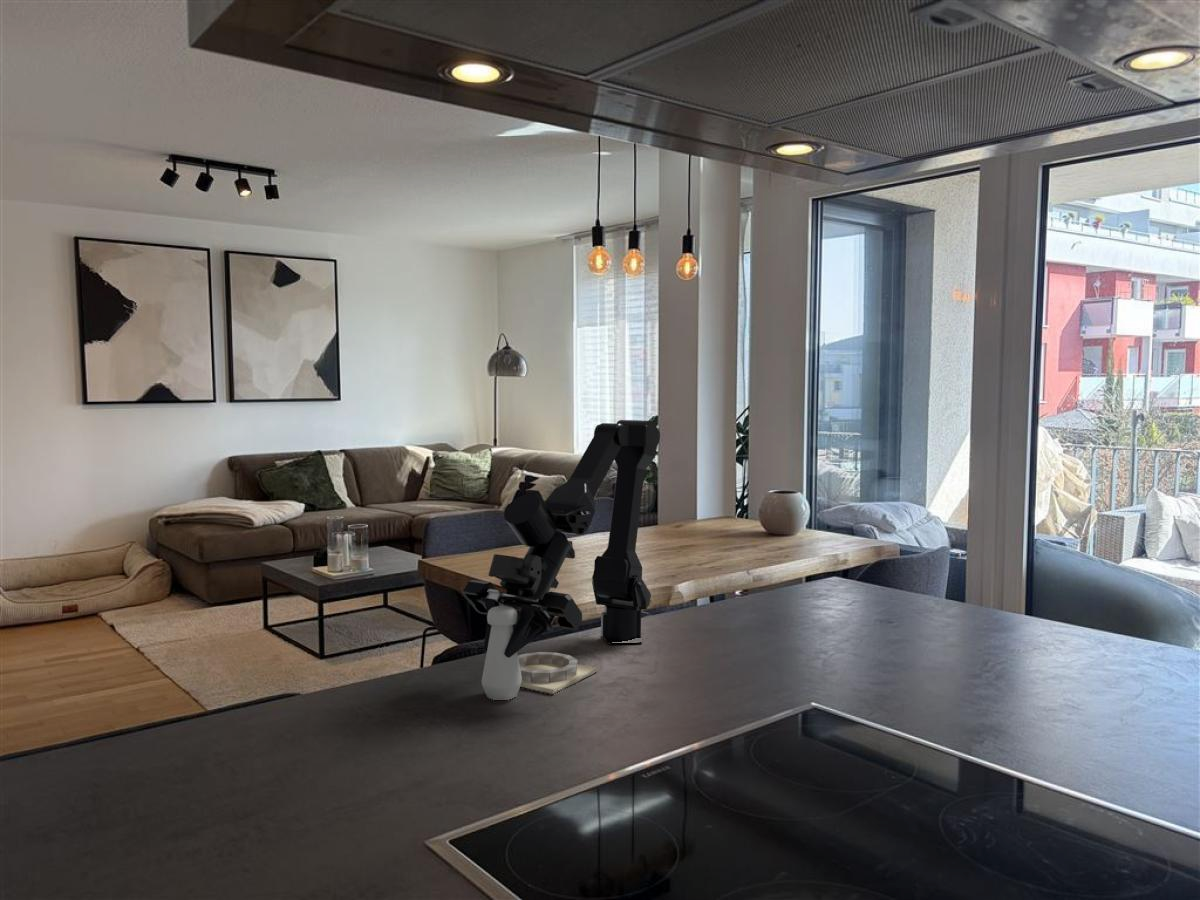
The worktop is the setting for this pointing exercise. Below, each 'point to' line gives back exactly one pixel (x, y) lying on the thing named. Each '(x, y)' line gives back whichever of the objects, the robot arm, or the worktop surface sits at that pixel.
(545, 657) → the ring stand
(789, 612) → the worktop surface
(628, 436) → the robot arm
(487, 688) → the salt shaker
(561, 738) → the worktop surface
